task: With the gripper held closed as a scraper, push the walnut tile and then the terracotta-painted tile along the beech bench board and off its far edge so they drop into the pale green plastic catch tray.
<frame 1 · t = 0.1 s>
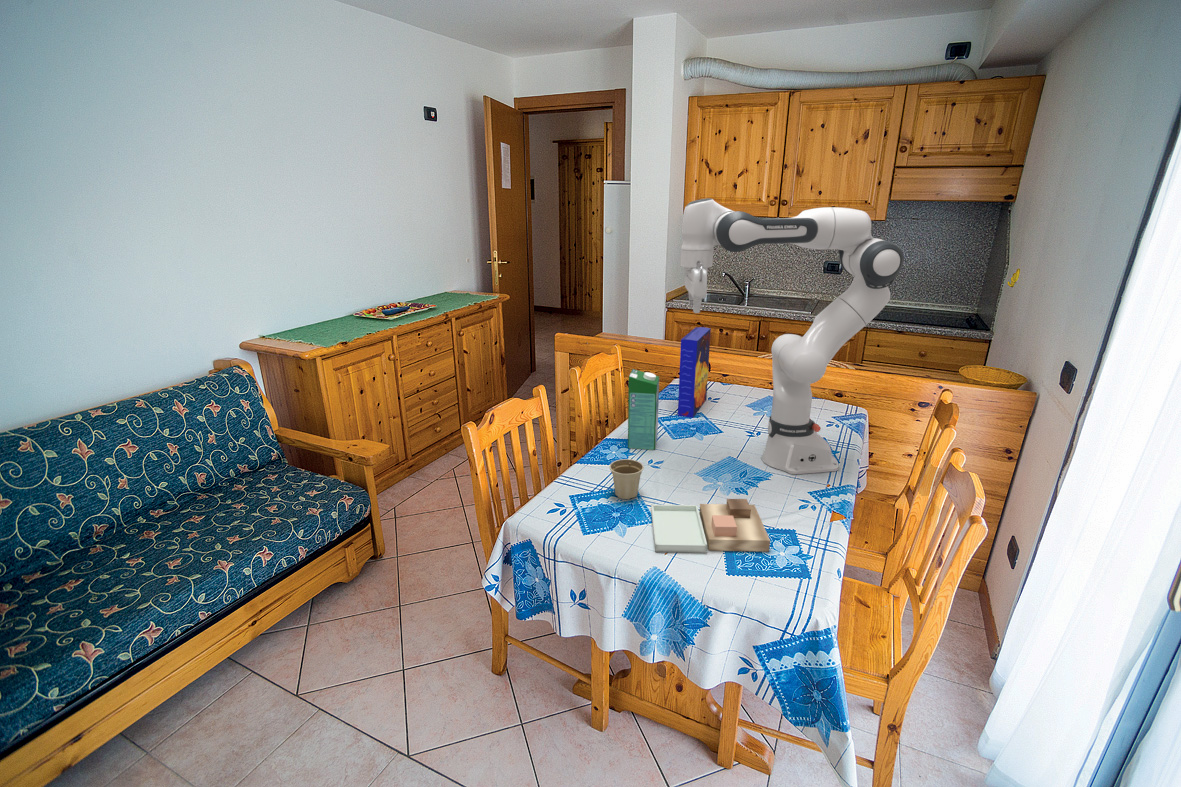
hand: (694, 309, 160), 48 cm above the table, fingers open, 8 cm apart
cereal box: (692, 407, 220), on the table
milk carton: (642, 444, 188), on the table
walnut tile: (737, 512, 141), point 3 cm above the table, touching bench board
terracotta tile: (723, 530, 133), point 3 cm above the table, touching bench board
bench board: (732, 531, 138), on the table
catch tray: (677, 530, 139), on the table
flower pot: (626, 494, 156), on the table
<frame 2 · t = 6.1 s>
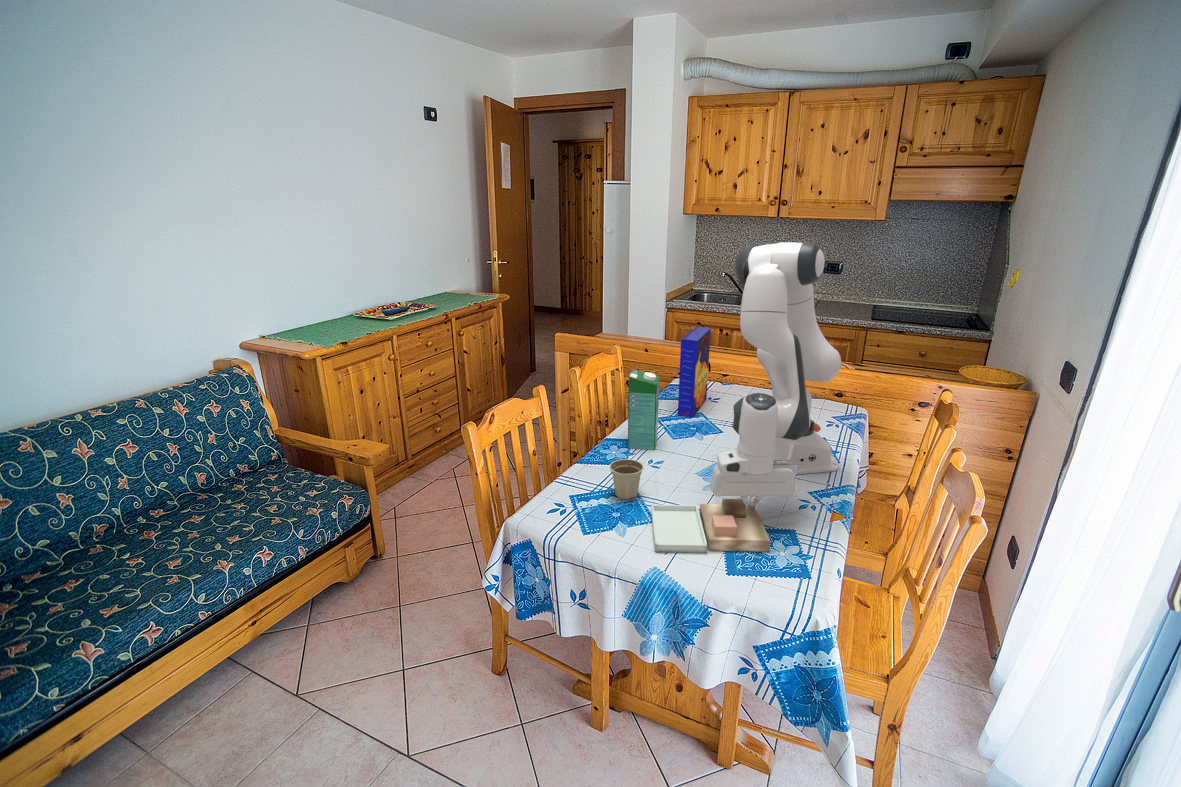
hand: (750, 509, 140), 4 cm above the table, fingers closed
walnut tile: (733, 512, 141), point 3 cm above the table, touching gripper
everything else where it was.
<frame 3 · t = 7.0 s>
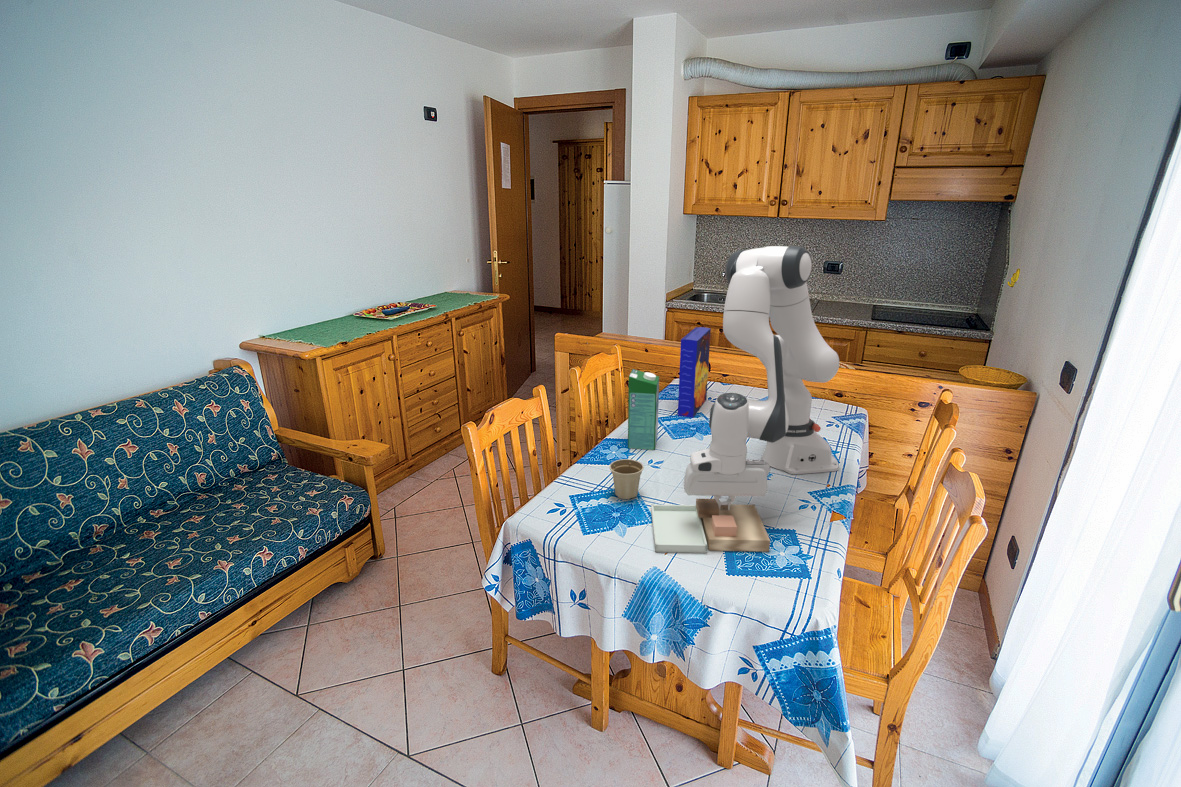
hand: (723, 509, 140), 4 cm above the table, fingers closed
walnut tile: (707, 512, 141), point 3 cm above the table, touching gripper
everything else where it was.
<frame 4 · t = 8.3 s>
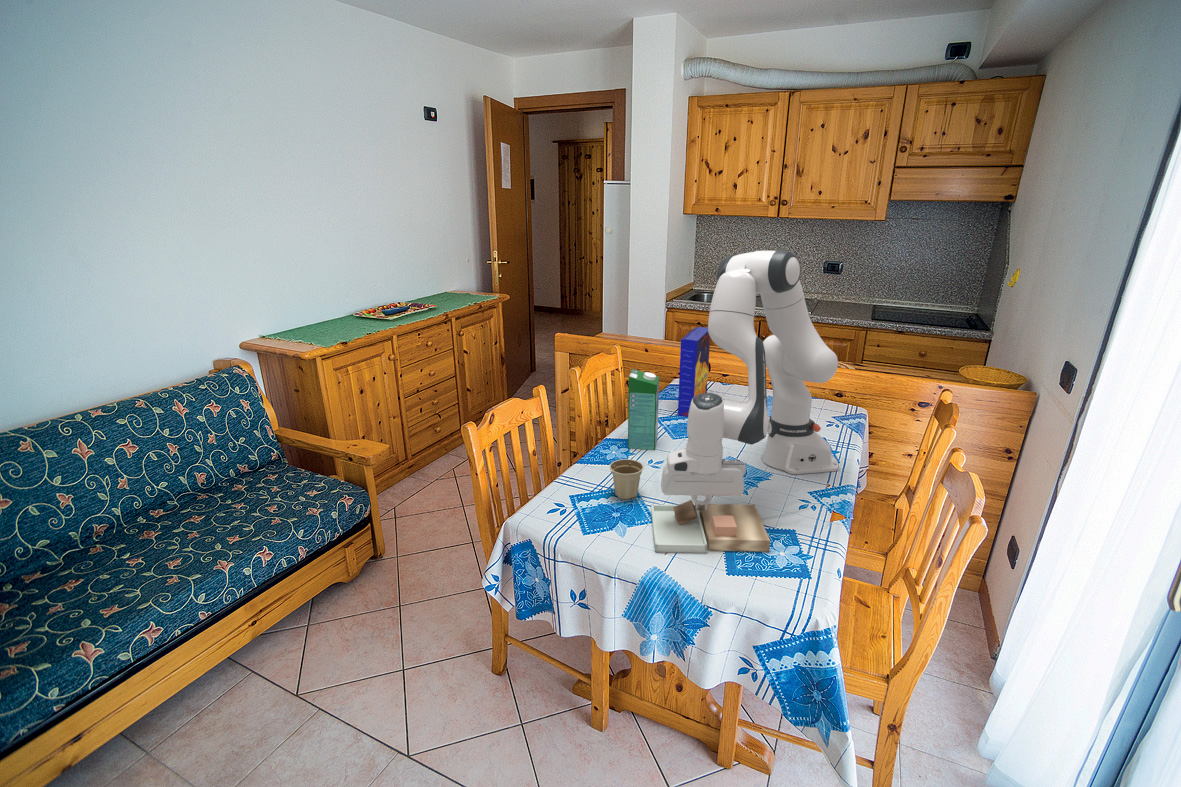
hand: (700, 508, 141), 4 cm above the table, fingers closed
walnut tile: (687, 516, 142), point 2 cm above the table, tilted 27°, touching catch tray, gripper
everything else where it was.
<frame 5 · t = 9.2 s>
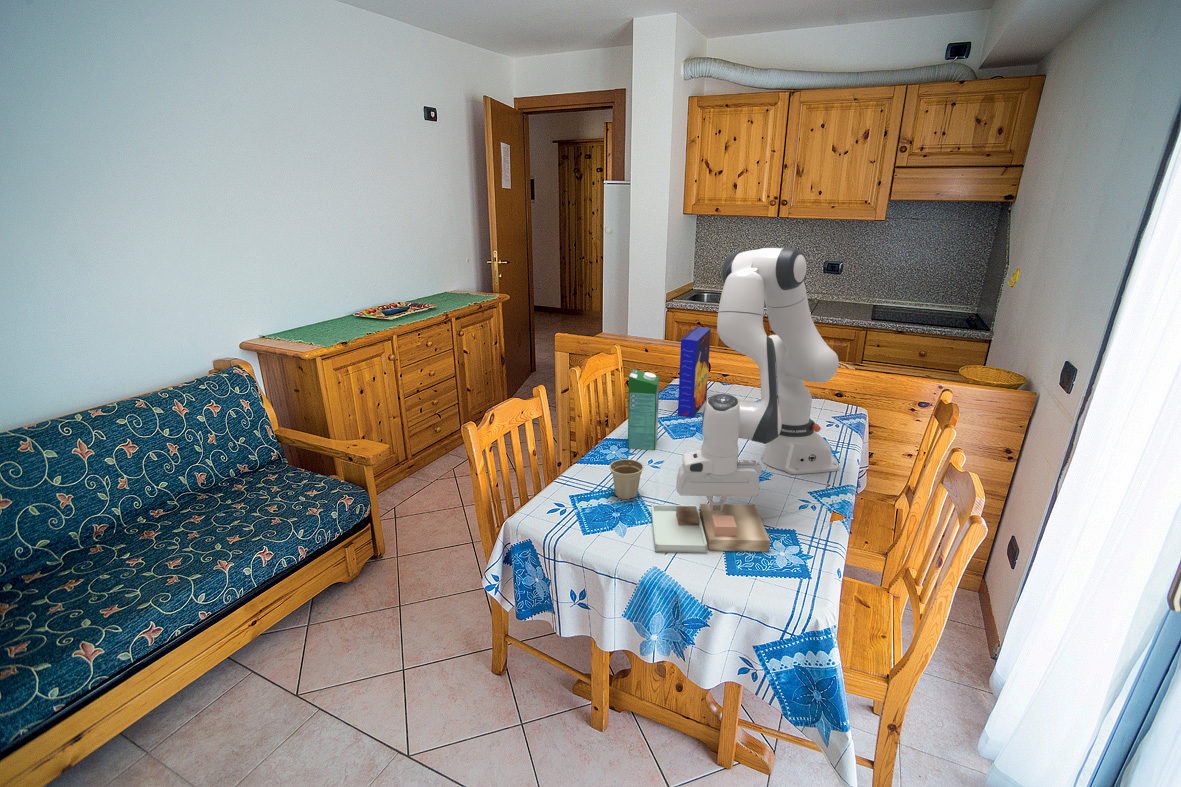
hand: (715, 509, 141), 4 cm above the table, fingers closed
walnut tile: (687, 520, 142), point 1 cm above the table, touching catch tray
everything else where it was.
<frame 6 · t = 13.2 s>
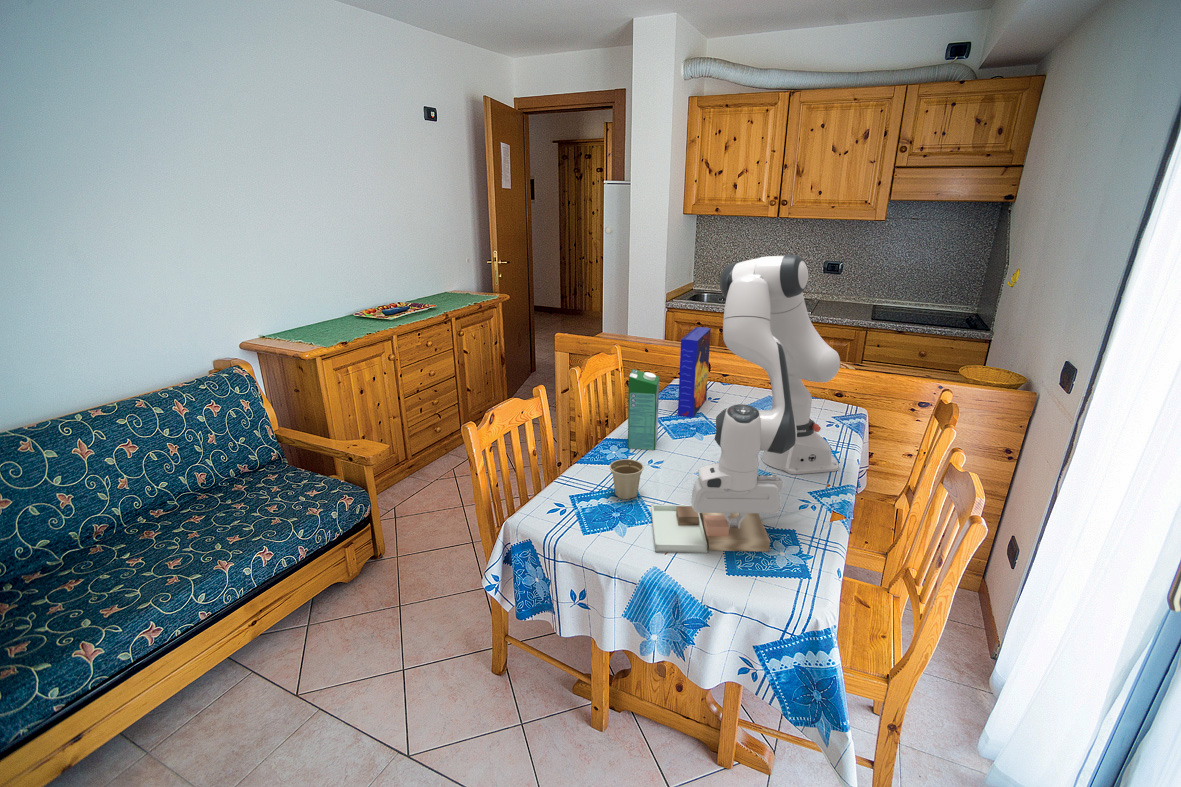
hand: (733, 526, 133), 4 cm above the table, fingers closed
terracotta tile: (715, 530, 133), point 3 cm above the table, touching gripper
everything else where it was.
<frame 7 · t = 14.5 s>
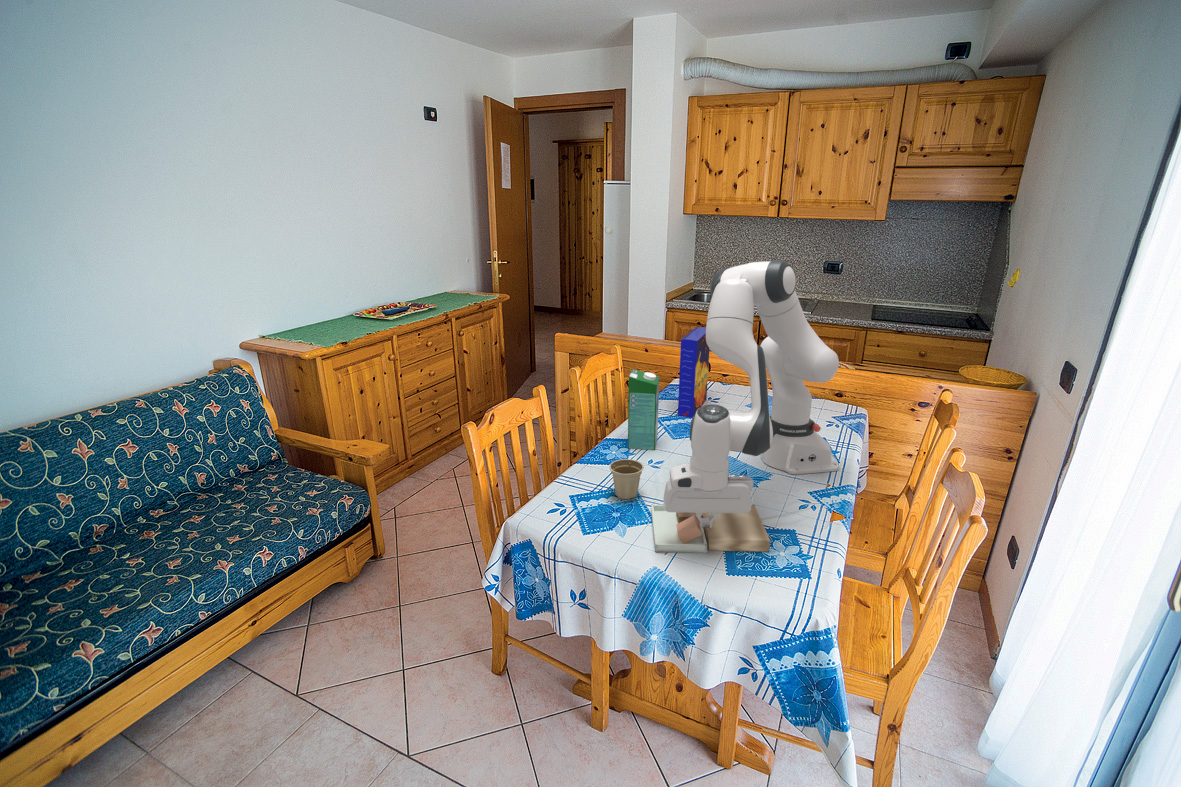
hand: (705, 526, 133), 4 cm above the table, fingers closed
terracotta tile: (691, 533, 134), point 2 cm above the table, tilted 33°, touching catch tray, gripper
everything else where it was.
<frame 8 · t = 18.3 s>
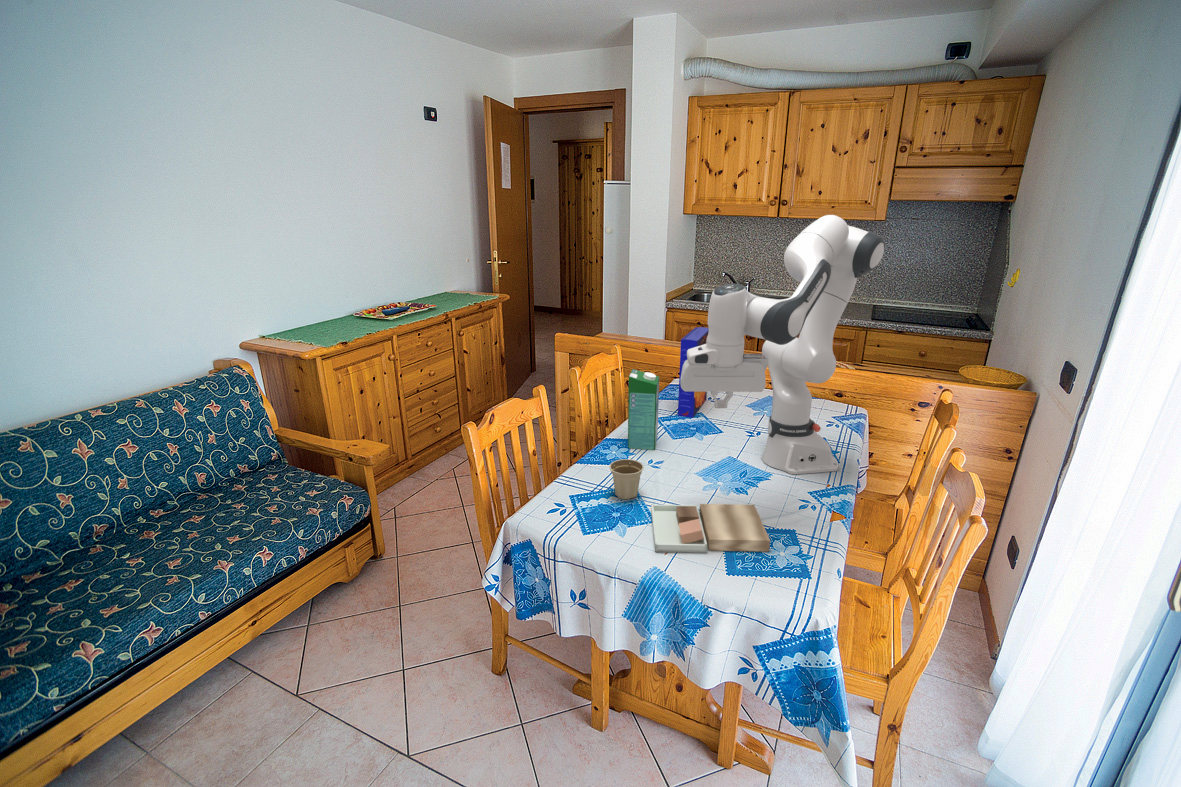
hand: (720, 407, 138), 29 cm above the table, fingers closed
terracotta tile: (692, 535, 134), point 1 cm above the table, tilted 16°, touching catch tray
everything else where it was.
at the end: walnut tile inside the target area on the catch tray (4.9 cm from its centre), point 0.6 cm above the catch tray's base; terracotta tile inside the target area on the catch tray (5.0 cm from its centre), point 1.3 cm above the catch tray's base; walnut tile touching catch tray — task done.
